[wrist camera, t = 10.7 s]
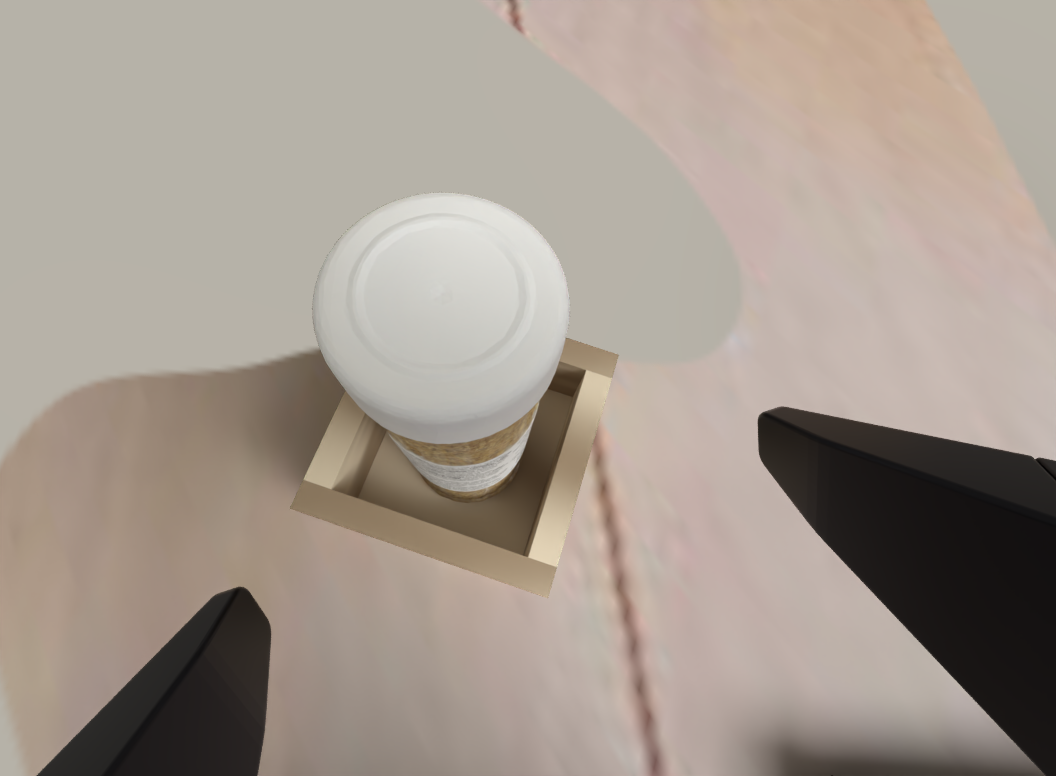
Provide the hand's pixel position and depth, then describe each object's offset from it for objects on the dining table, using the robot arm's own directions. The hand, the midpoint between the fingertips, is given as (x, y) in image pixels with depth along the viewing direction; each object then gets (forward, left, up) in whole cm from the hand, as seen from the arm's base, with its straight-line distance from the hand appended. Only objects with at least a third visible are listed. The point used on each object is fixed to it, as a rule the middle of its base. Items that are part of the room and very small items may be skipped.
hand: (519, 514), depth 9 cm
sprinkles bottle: (+3, +2, -13) cm, 13 cm away
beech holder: (+3, +3, -14) cm, 14 cm away
